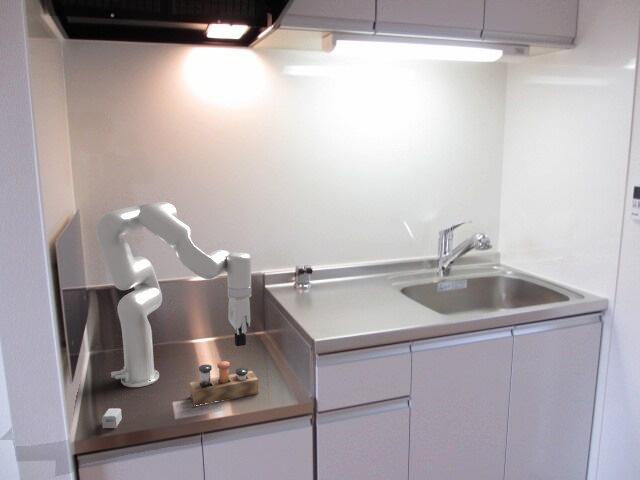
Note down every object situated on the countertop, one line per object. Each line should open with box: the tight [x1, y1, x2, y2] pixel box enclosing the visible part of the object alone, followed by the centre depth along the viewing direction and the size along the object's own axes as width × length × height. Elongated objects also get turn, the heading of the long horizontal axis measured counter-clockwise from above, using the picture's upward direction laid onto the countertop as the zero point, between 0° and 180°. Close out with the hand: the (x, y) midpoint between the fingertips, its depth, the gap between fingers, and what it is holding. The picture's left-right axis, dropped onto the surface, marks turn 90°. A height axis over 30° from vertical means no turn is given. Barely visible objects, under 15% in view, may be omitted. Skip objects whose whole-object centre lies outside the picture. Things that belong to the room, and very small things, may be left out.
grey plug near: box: [198, 364, 213, 388], centre depth 164 cm, size 4×4×7 cm
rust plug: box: [217, 360, 231, 384], centre depth 167 cm, size 4×4×7 cm
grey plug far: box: [235, 367, 249, 381], centre depth 170 cm, size 4×4×7 cm
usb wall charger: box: [101, 407, 123, 429], centre depth 152 cm, size 4×7×4 cm, turn 2°
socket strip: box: [189, 370, 259, 407], centre depth 168 cm, size 21×7×5 cm, turn 115°
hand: (240, 344), depth 168 cm, fingers closed
